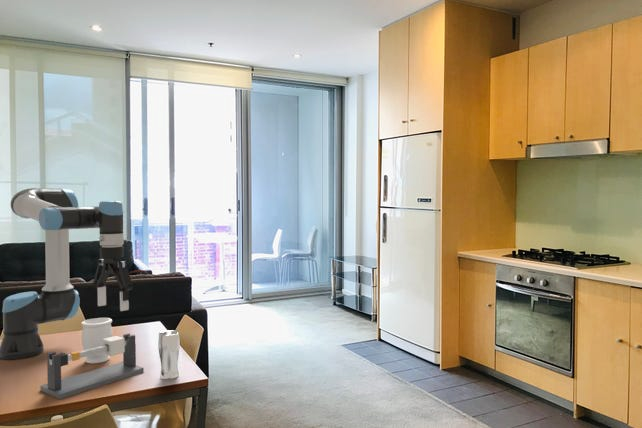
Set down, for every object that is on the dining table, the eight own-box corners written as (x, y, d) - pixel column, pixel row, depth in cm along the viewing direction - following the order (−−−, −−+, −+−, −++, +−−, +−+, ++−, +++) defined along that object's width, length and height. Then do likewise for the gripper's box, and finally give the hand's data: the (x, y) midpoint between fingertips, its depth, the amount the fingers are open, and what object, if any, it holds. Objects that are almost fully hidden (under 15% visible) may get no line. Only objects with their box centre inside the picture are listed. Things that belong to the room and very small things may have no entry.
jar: (101, 366, 179) (100, 324, 178) (75, 364, 181) (75, 323, 180) (118, 356, 189) (118, 317, 189) (94, 355, 191) (94, 316, 191)
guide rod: (48, 366, 154) (48, 356, 153) (129, 344, 176) (129, 335, 176) (53, 368, 152) (53, 358, 152) (134, 346, 174) (134, 337, 174)
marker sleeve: (102, 353, 169) (102, 339, 169) (116, 349, 173) (116, 335, 173) (111, 356, 166) (110, 341, 166) (124, 352, 170) (124, 338, 170)
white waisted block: (167, 371, 173) (167, 329, 172) (184, 374, 170) (183, 331, 170) (154, 378, 166) (153, 334, 166) (171, 381, 164) (170, 336, 163)
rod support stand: (40, 390, 156) (39, 351, 156) (123, 365, 179) (123, 331, 179) (59, 399, 149) (58, 358, 149) (143, 371, 172) (143, 336, 172)
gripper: (81, 245, 173) (83, 305, 173) (122, 248, 158) (124, 314, 159) (101, 243, 179) (103, 301, 180) (143, 246, 164) (144, 310, 165)
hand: (112, 308), depth 169 cm, fingers open, 13 cm apart
